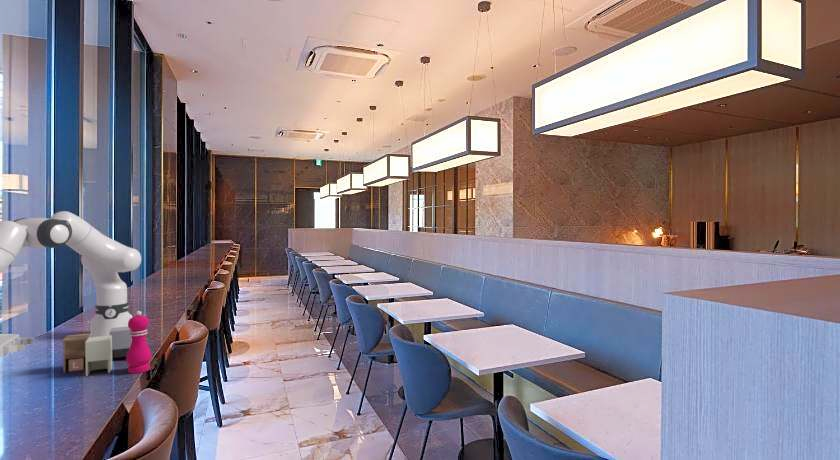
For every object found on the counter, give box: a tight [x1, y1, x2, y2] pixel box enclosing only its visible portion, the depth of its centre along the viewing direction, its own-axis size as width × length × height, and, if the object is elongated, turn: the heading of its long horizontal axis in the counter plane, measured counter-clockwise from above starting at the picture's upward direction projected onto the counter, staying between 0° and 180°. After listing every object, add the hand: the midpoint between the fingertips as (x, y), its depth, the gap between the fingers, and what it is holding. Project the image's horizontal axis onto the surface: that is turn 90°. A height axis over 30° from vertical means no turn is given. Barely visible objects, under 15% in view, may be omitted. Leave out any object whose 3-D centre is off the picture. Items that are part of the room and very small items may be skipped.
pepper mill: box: [125, 310, 153, 375], centre depth 151 cm, size 7×7×20 cm
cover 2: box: [109, 327, 132, 361], centre depth 163 cm, size 6×6×11 cm
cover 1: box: [85, 335, 113, 377], centre depth 150 cm, size 6×6×11 cm
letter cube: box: [68, 357, 85, 372], centre depth 152 cm, size 4×4×4 cm
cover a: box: [62, 332, 91, 374], centre depth 152 cm, size 6×6×11 cm
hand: (29, 343), depth 146 cm, fingers open, 8 cm apart
